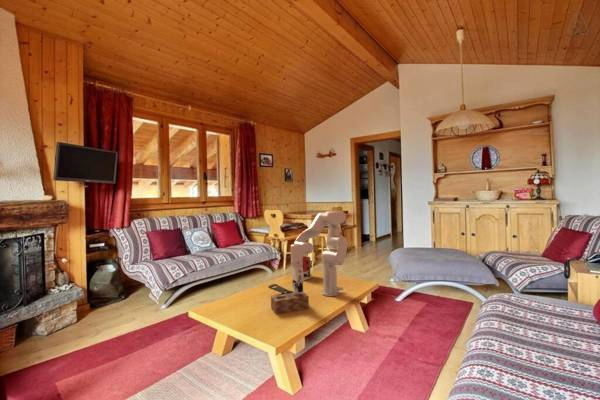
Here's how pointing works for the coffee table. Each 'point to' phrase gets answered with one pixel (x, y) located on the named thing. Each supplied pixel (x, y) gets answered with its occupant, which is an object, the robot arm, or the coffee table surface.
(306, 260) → the santa figurine
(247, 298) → the coffee table surface
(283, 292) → the zipper pull
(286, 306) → the slotted wooden block
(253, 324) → the coffee table surface
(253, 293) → the coffee table surface
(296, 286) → the pinkish wooden bar
